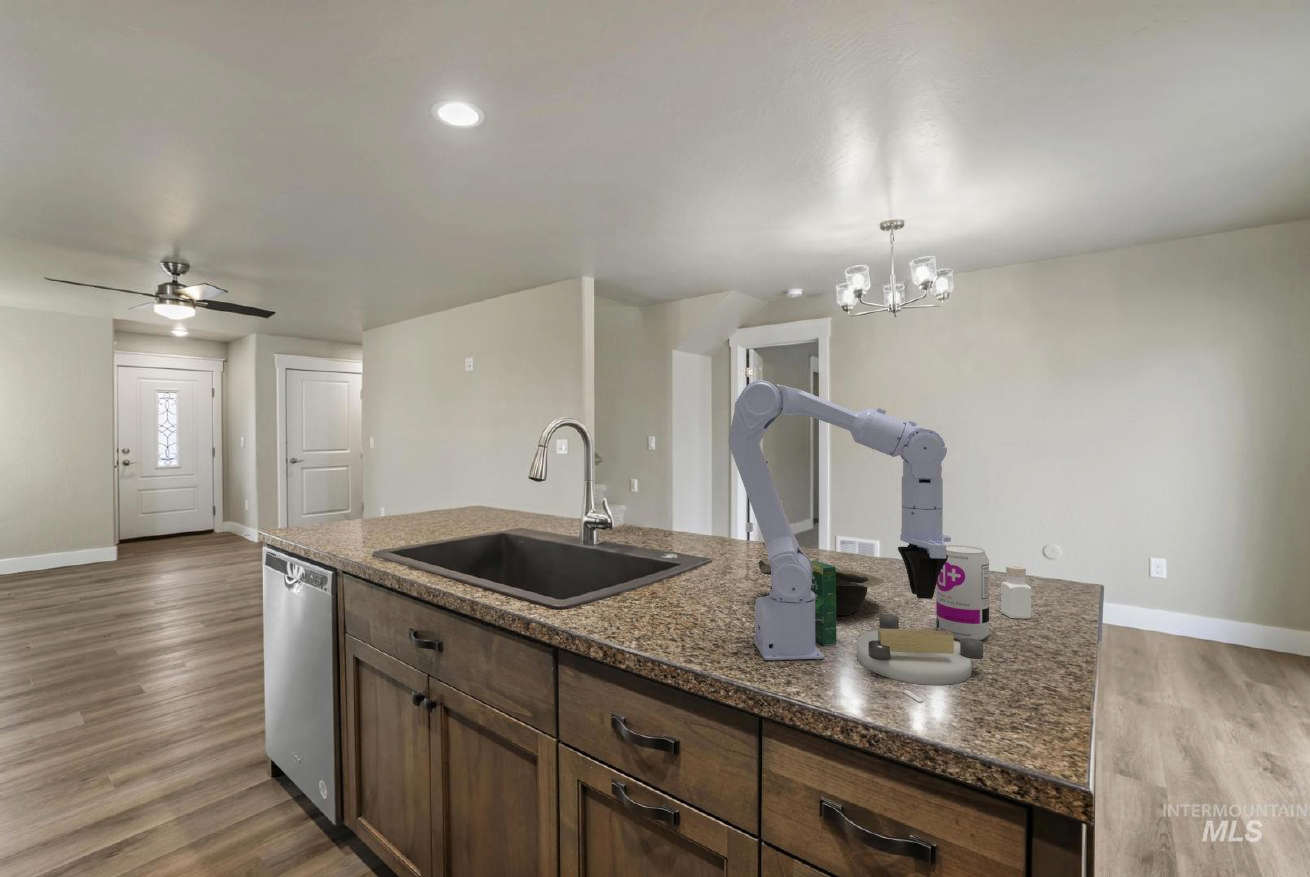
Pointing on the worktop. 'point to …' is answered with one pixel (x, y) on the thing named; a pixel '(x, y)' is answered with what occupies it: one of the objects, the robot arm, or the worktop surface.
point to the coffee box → (824, 602)
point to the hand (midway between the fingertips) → (922, 595)
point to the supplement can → (963, 593)
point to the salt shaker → (1016, 593)
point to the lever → (910, 642)
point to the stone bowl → (845, 588)
